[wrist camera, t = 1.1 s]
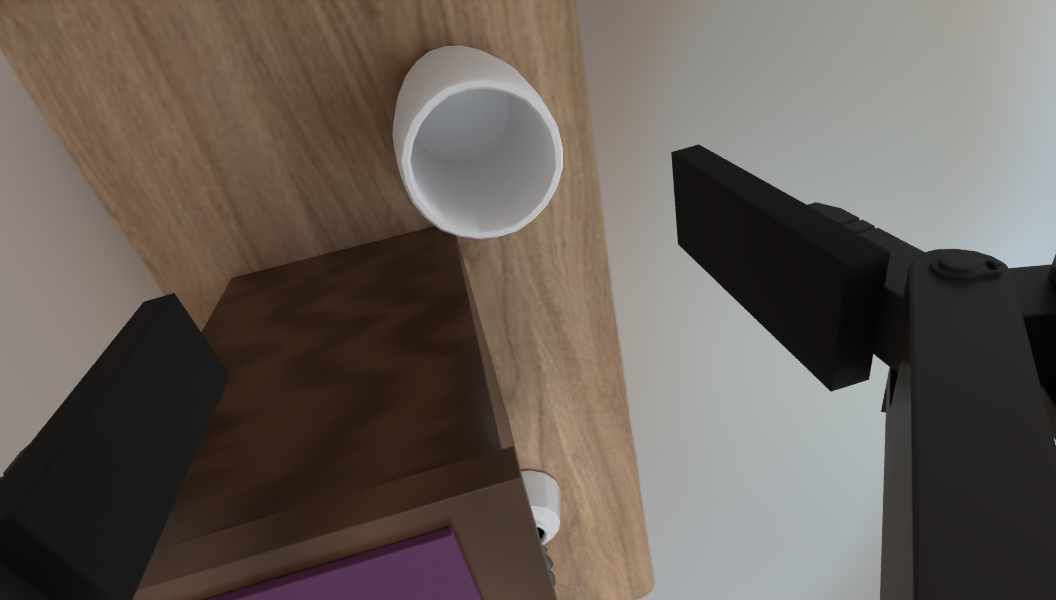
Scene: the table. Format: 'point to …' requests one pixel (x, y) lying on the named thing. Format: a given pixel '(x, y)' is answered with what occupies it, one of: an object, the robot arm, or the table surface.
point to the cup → (474, 143)
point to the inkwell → (544, 507)
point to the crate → (351, 429)
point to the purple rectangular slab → (379, 575)
